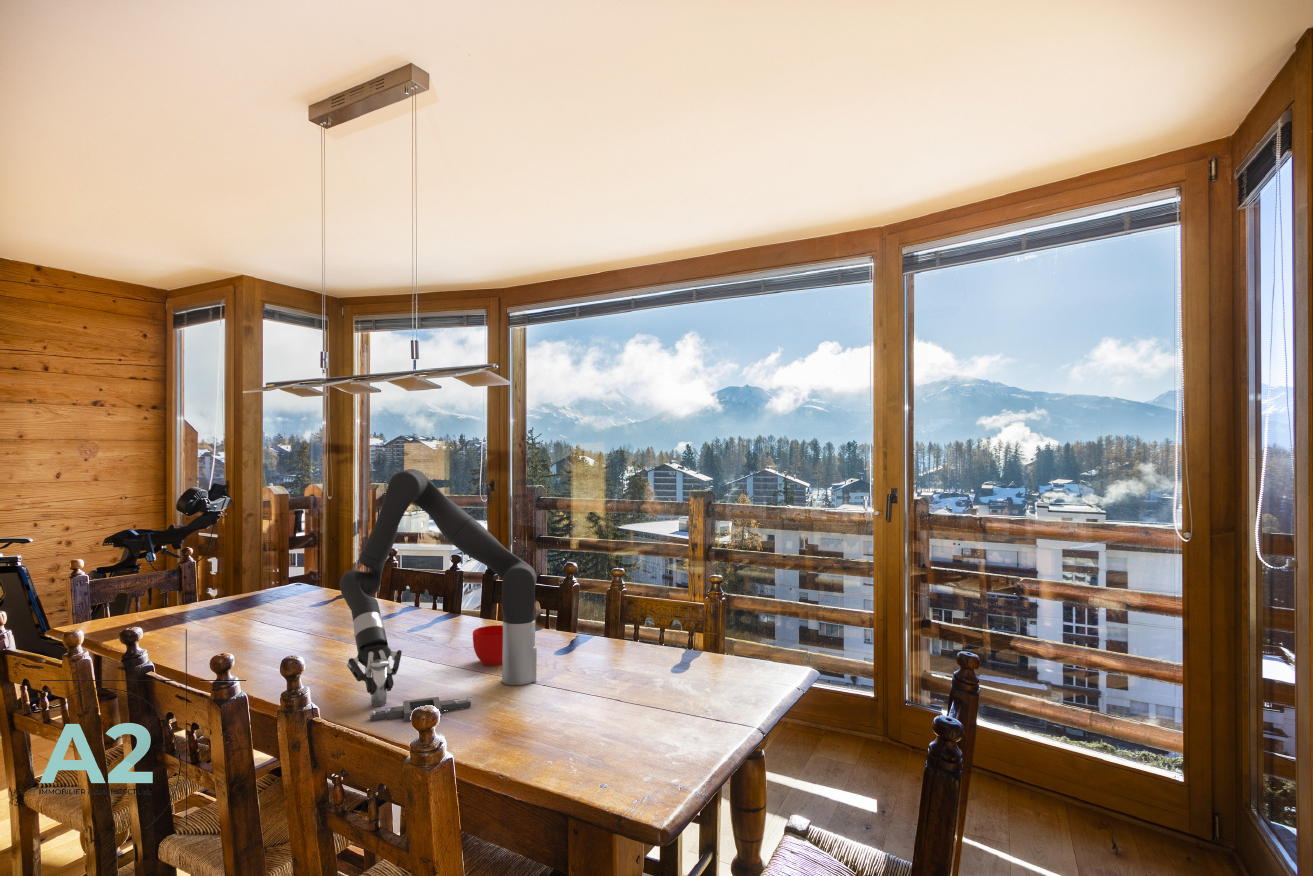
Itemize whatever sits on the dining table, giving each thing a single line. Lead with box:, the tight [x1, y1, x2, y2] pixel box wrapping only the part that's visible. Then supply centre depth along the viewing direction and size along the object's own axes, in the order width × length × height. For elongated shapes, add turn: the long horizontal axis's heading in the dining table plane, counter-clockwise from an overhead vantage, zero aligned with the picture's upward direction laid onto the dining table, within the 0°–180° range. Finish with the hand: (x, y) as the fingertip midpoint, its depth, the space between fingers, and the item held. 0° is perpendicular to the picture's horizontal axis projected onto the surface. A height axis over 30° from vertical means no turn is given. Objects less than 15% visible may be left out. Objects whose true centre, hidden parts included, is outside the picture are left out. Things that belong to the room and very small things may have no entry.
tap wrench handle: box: [369, 696, 472, 723], centre depth 162 cm, size 24×9×2 cm, turn 113°
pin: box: [370, 658, 390, 708], centre depth 167 cm, size 5×5×11 cm
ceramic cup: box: [472, 624, 503, 666], centre depth 202 cm, size 13×17×10 cm
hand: (381, 690), depth 166 cm, fingers closed on pin, 3 cm apart
